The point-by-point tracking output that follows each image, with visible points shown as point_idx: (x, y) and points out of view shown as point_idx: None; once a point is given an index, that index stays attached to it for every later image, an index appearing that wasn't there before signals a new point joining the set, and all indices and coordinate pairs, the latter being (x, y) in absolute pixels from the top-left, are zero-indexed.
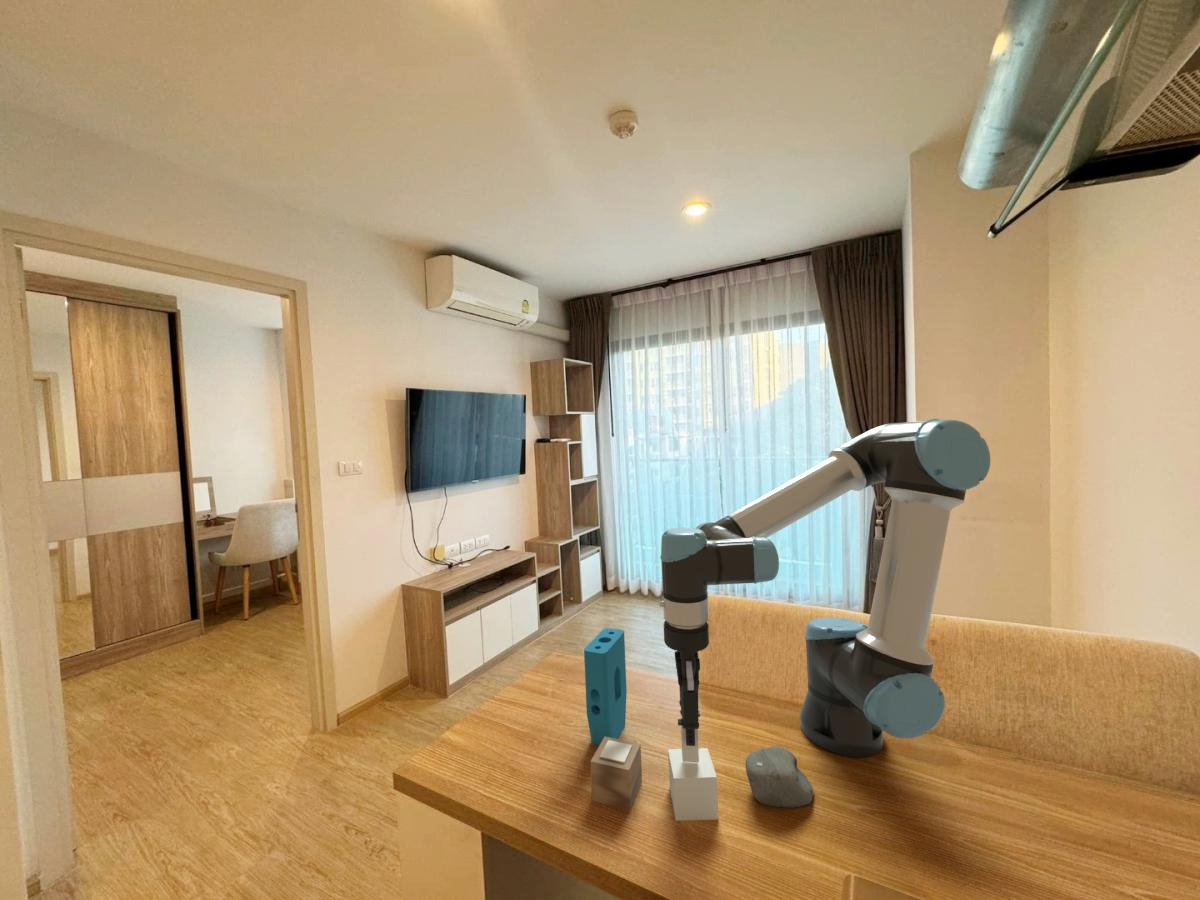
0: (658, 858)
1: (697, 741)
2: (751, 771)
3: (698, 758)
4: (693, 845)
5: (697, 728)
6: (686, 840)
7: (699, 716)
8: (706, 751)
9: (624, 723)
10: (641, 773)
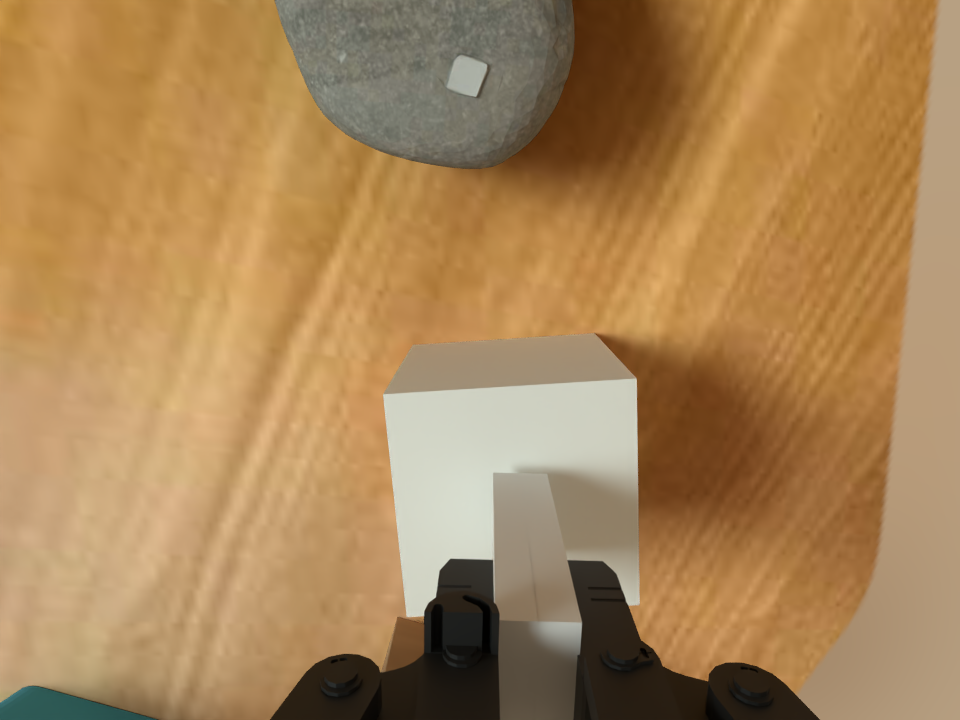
0: (760, 571)
1: (560, 541)
2: (505, 143)
3: (549, 485)
4: (714, 448)
5: (775, 685)
6: (691, 470)
7: (488, 603)
8: (414, 404)
9: (32, 700)
10: (395, 642)
